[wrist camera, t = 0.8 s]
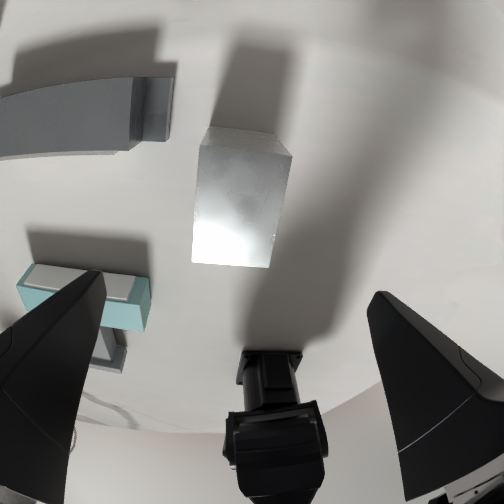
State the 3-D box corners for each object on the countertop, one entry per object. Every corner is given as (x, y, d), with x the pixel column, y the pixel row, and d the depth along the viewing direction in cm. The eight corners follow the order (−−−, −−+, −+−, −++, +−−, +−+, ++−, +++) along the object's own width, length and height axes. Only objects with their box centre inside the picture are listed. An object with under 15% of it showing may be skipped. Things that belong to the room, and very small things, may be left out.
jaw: (158, 355, 28) (154, 380, 25) (61, 338, 26) (52, 360, 23) (147, 274, 22) (139, 302, 19) (31, 260, 20) (14, 282, 17)
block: (258, 217, 20) (268, 267, 15) (201, 211, 20) (192, 261, 14) (273, 133, 17) (292, 156, 12) (209, 125, 16) (199, 145, 11)
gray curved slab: (168, 143, 17) (155, 156, 14) (0, 150, 14) (-27, 164, 12) (174, 77, 14) (161, 76, 11) (-2, 99, 12) (-31, 108, 9)
